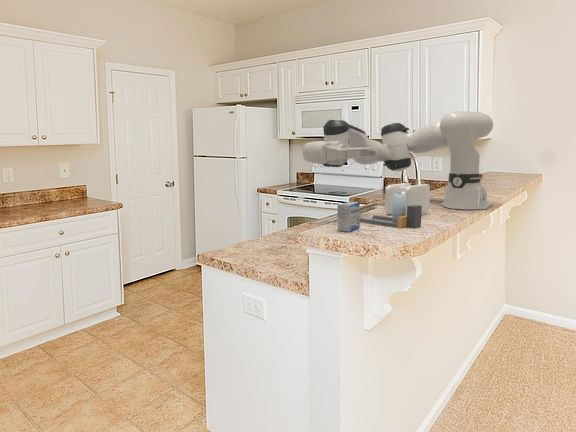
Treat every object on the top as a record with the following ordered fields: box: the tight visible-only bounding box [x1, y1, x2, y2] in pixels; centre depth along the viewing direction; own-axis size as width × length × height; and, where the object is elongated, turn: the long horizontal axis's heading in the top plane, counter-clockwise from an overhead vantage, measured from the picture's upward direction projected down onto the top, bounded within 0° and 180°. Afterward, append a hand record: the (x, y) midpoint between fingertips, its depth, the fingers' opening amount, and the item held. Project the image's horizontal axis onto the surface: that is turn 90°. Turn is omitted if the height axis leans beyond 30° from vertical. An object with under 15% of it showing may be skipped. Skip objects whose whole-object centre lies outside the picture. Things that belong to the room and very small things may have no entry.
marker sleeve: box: [391, 195, 406, 223], centre depth 157 cm, size 4×4×10 cm
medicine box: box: [337, 201, 361, 233], centre depth 150 cm, size 8×4×9 cm, turn 148°
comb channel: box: [360, 205, 422, 229], centre depth 159 cm, size 10×20×7 cm, turn 44°
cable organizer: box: [384, 182, 431, 216], centre depth 177 cm, size 15×11×12 cm
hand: (367, 153), depth 163 cm, fingers open, 8 cm apart
